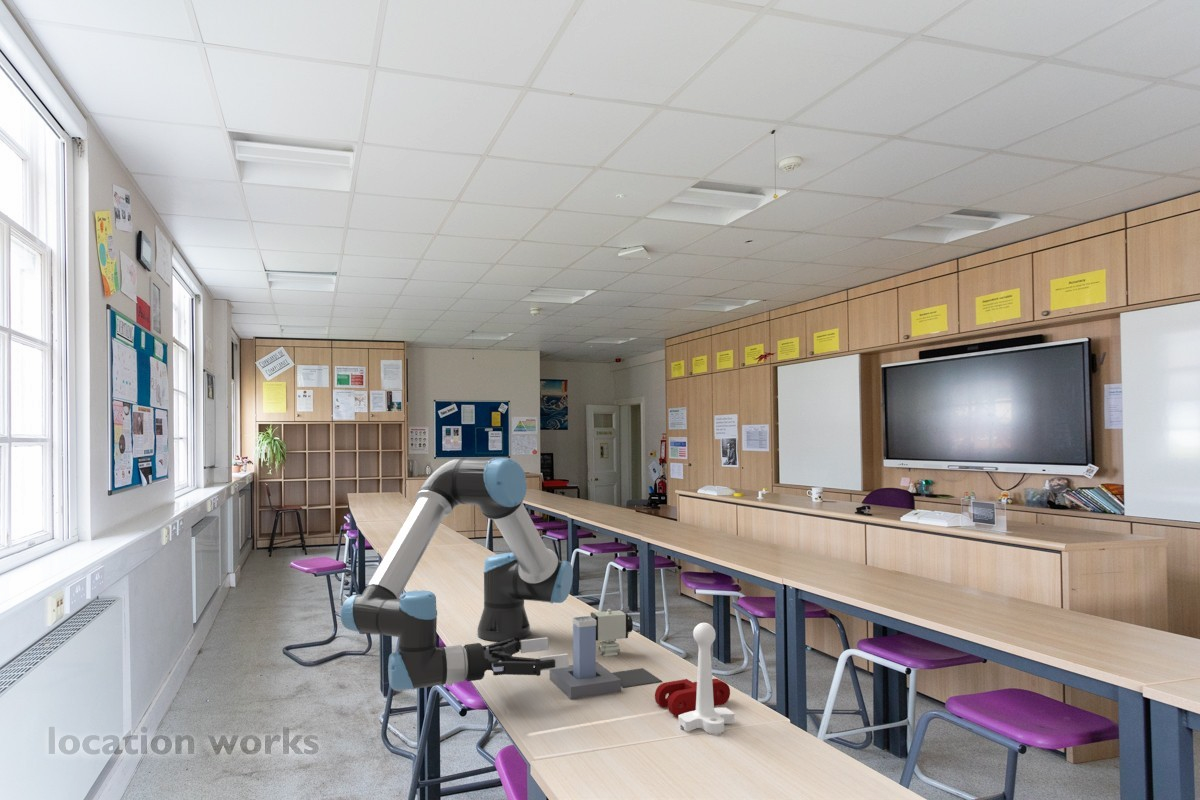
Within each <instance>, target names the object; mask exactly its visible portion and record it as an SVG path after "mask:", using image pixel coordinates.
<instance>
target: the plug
mask: <svg viewBox="0 0 1200 800" xmlns="http://www.w3.org/2000/svg"><path fill="white" fill-rule="evenodd" d="M590 616H591V615H586V616H575V617H572V628H573V631H572V665H573V677H575V678H576V679H584V678H591V677H596V662H597V661H596V660H597V655H596V654H597V648H596V647H597V641H596V620H595V619H594V618H592V617H590Z"/></svg>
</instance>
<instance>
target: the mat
mask: <svg viewBox="0 0 1200 800" xmlns="http://www.w3.org/2000/svg"><path fill="white" fill-rule="evenodd" d="M612 673H613V674H614V675H615V676H617V677H618V678H619V679H621V688H622V689H625V688H626V689H627V688H631V687H638V686H644V685H645V686H646V685H651V684H658V683H663V680H662V679H660V678H659V677H657V676H655V675H654V674H653V673H651V672H649V671H648V670H646V669H645V668H644V667H642V668H641V667H640V668H635V669H627V670H621V671H614V672H612Z"/></svg>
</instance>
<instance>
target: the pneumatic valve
mask: <svg viewBox="0 0 1200 800" xmlns="http://www.w3.org/2000/svg"><path fill="white" fill-rule="evenodd" d="M589 616H590V617H592V618H594V619H595V620H596V642H600V641H601V642H600V644H599V645H598V654H599V655H602V657H613V656H618V655H619V654H618V653H620V651H621V647H620V643H618V642H616V641H617V640H619V639H620V640H621V639H629V635H630V633H631V632H633V629H634V624H633V618H632V616H631V615H630V614H628V613H627V612H626V611H624V610H622V609H619V610H618V609H617V610H612V609H611V608H607V610H606V611H596V612H595V611H593V612H590V615H589Z"/></svg>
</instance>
